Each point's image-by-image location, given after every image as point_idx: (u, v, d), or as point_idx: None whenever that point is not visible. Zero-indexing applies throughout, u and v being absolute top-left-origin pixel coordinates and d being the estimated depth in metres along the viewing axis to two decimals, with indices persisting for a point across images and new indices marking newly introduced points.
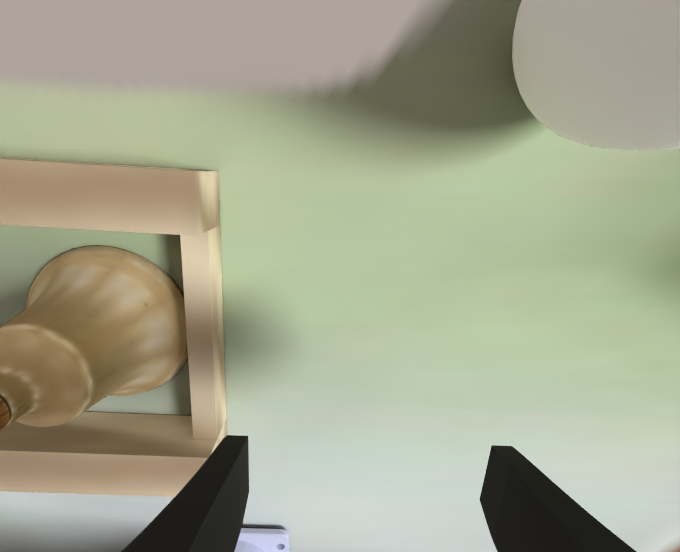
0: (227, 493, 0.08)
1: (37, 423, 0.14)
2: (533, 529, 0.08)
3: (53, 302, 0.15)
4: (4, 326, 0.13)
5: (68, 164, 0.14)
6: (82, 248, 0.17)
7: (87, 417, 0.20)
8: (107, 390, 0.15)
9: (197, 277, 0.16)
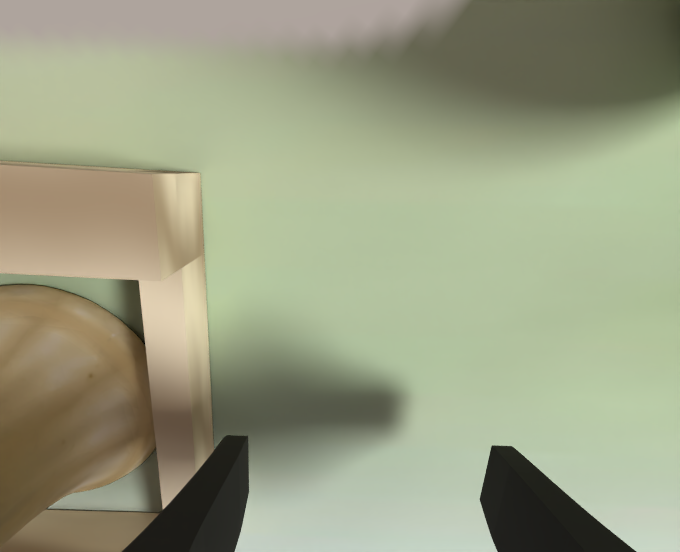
0: (227, 493, 0.08)
1: None
2: (533, 529, 0.08)
3: None
4: None
5: None
6: None
7: None
8: (20, 526, 0.09)
9: (167, 338, 0.10)
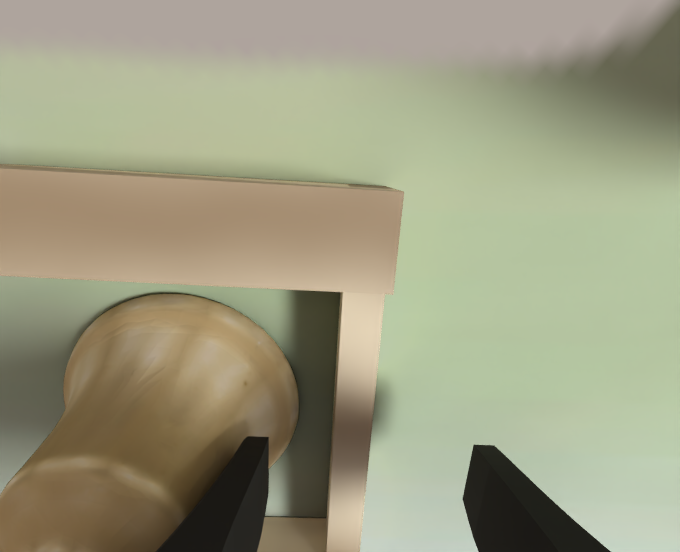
0: (252, 494, 0.08)
1: None
2: (511, 528, 0.08)
3: (119, 399, 0.09)
4: (47, 460, 0.08)
5: (196, 181, 0.08)
6: (146, 297, 0.12)
7: None
8: None
9: (361, 348, 0.11)
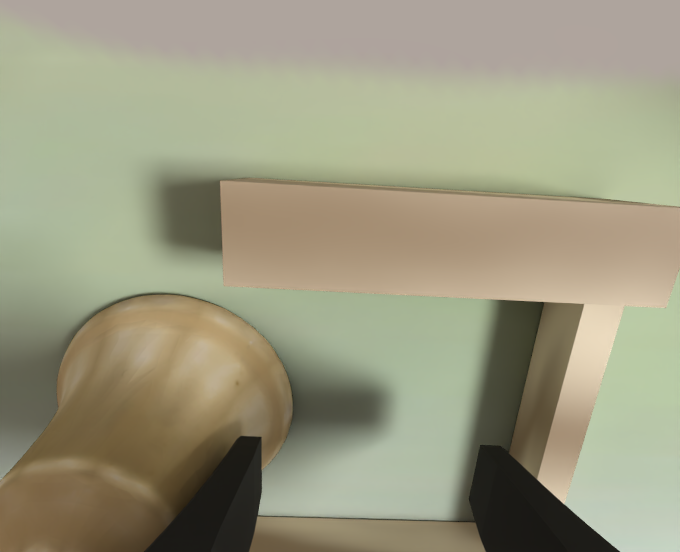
0: (243, 493, 0.08)
1: None
2: (519, 529, 0.08)
3: (108, 401, 0.09)
4: (34, 462, 0.08)
5: (503, 199, 0.08)
6: (137, 298, 0.12)
7: (345, 530, 0.14)
8: None
9: (590, 358, 0.11)
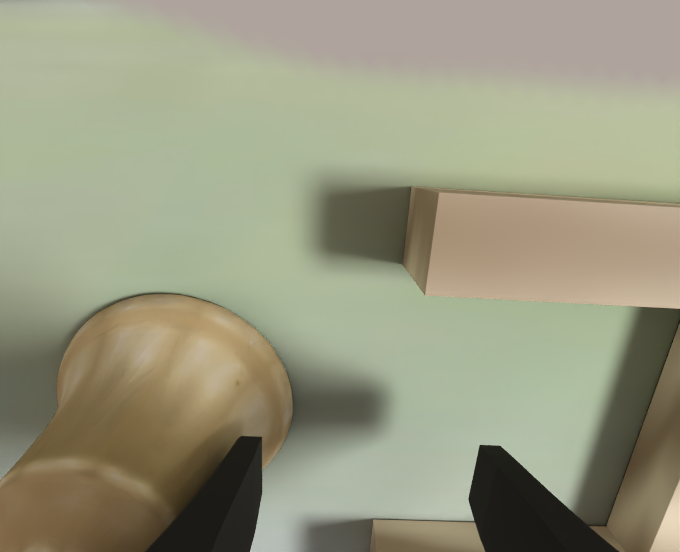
0: (244, 493, 0.08)
1: None
2: (518, 529, 0.08)
3: (108, 400, 0.09)
4: (34, 461, 0.08)
5: None
6: (137, 298, 0.12)
7: (466, 534, 0.15)
8: None
9: None
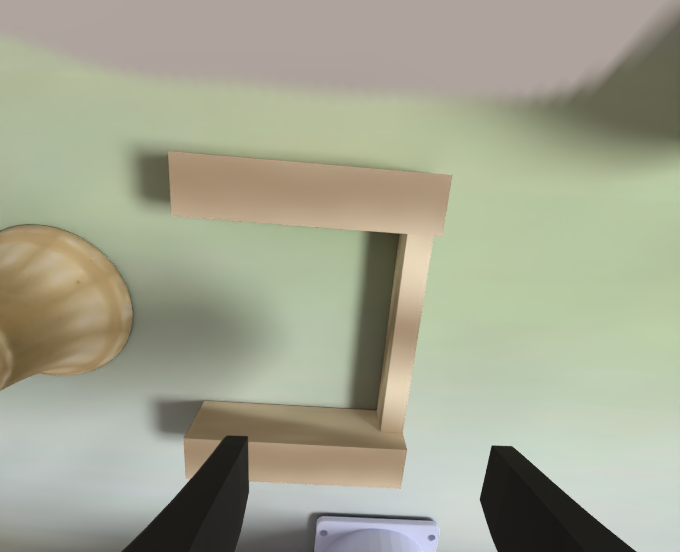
0: (226, 493, 0.08)
1: None
2: (533, 529, 0.08)
3: None
4: None
5: (335, 166, 0.14)
6: (16, 226, 0.17)
7: (268, 410, 0.20)
8: (33, 365, 0.15)
9: (415, 276, 0.17)
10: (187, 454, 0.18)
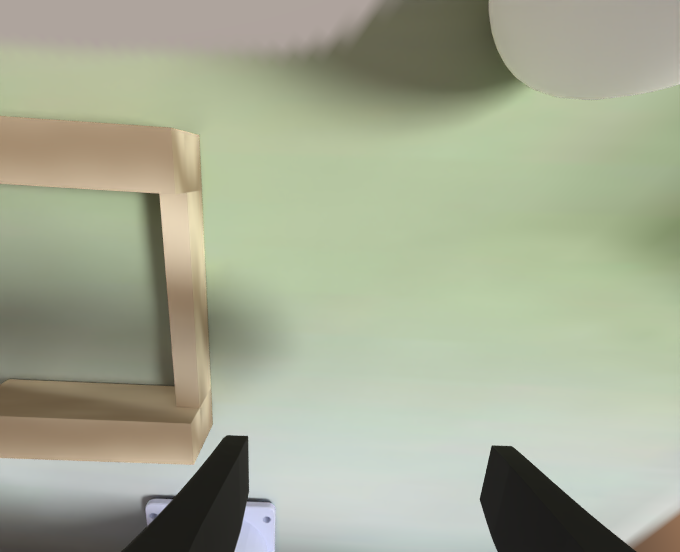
0: (226, 493, 0.08)
1: None
2: (533, 529, 0.08)
3: None
4: None
5: (44, 120, 0.13)
6: None
7: (71, 387, 0.20)
8: None
9: (177, 240, 0.16)
10: None
